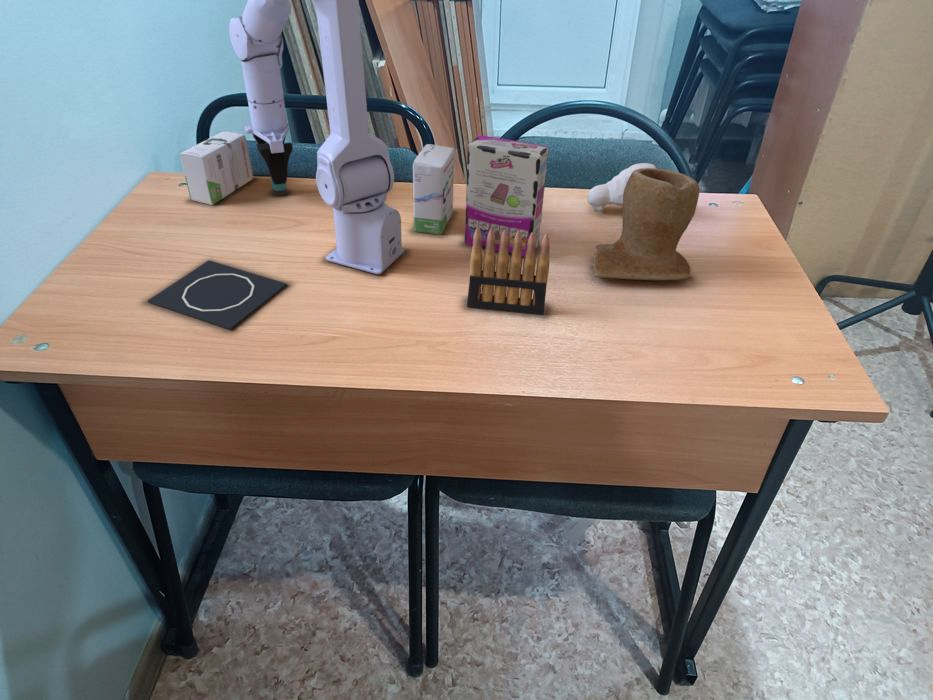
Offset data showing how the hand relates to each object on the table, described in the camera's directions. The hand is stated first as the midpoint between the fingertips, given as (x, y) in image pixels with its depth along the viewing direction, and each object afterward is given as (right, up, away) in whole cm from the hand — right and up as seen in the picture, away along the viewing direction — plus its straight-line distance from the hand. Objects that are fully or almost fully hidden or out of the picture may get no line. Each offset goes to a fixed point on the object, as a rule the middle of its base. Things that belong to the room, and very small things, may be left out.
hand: (278, 177), depth 114 cm
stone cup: (+59, -18, -14) cm, 63 cm away
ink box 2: (+28, -9, -5) cm, 29 cm away
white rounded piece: (+60, -6, +1) cm, 60 cm away
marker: (0, -2, +2) cm, 3 cm away
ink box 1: (-12, -2, -5) cm, 13 cm away
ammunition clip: (+38, -24, -24) cm, 51 cm away
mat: (-1, -22, -23) cm, 32 cm away
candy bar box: (+39, -14, -10) cm, 42 cm away
